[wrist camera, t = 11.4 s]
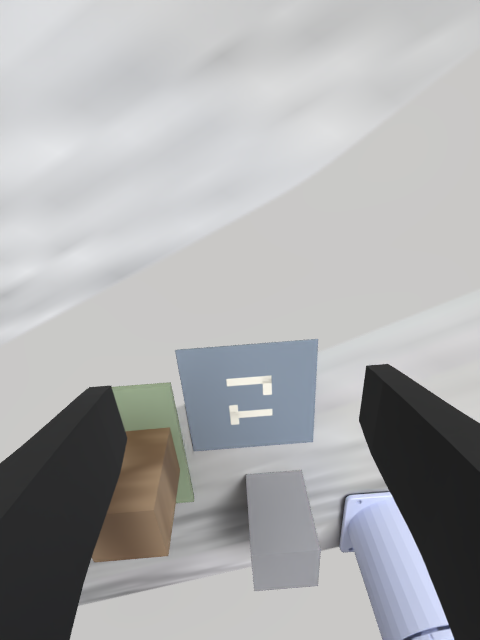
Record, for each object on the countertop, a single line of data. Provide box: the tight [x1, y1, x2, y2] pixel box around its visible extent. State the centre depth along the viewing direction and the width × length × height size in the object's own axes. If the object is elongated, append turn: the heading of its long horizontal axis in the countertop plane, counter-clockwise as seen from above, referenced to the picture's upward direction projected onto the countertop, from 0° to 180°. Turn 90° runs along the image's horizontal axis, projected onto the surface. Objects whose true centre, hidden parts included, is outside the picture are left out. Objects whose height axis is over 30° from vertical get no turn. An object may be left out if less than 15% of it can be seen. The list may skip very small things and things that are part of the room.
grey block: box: [246, 470, 321, 591], centre depth 25 cm, size 4×4×6 cm
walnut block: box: [92, 427, 180, 562], centre depth 22 cm, size 4×4×6 cm
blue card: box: [175, 339, 318, 451], centre depth 23 cm, size 9×9×1 cm
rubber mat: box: [86, 383, 194, 503], centre depth 25 cm, size 6×12×1 cm, turn 4°
